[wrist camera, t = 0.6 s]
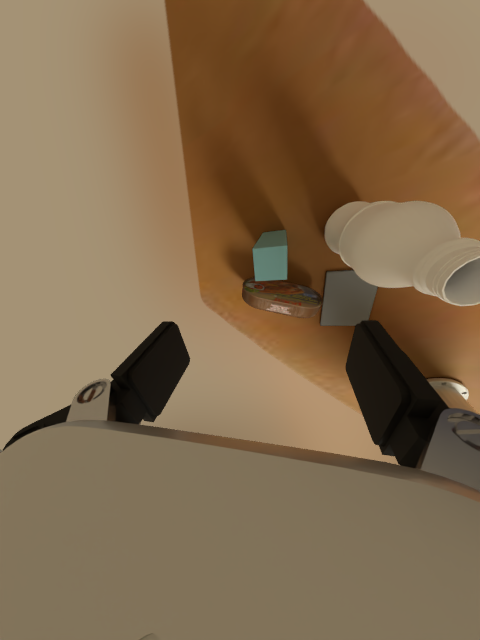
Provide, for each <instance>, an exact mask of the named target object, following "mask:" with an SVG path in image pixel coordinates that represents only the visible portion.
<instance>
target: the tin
mask: <svg viewBox="0 0 480 640" xmlns="http://www.w3.org/2000/svg"><path fill="white" fill-rule="evenodd" d="M242 297H243V300H244V301H245V302H246V303H247V304H249V305H250V306H252V307H254V308H257V309H261V310H265V311H270V312H275V313H279V314H284V315H289V316H294V317H299V318H310V317H313V316H315V315H316V314H317V312H318V311H319V309H320V306H321V305H322V304H323V298H322V297H321V295H320V294H318V293H317V292H316V291H314V290H313V289H311V288H308V287H306V286H302V285H298V284H293V283H288V282H283V281H278V280H269V281H255V277H254V278H249V279H247V280H245V281H244V282H243V290H242Z"/></svg>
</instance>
